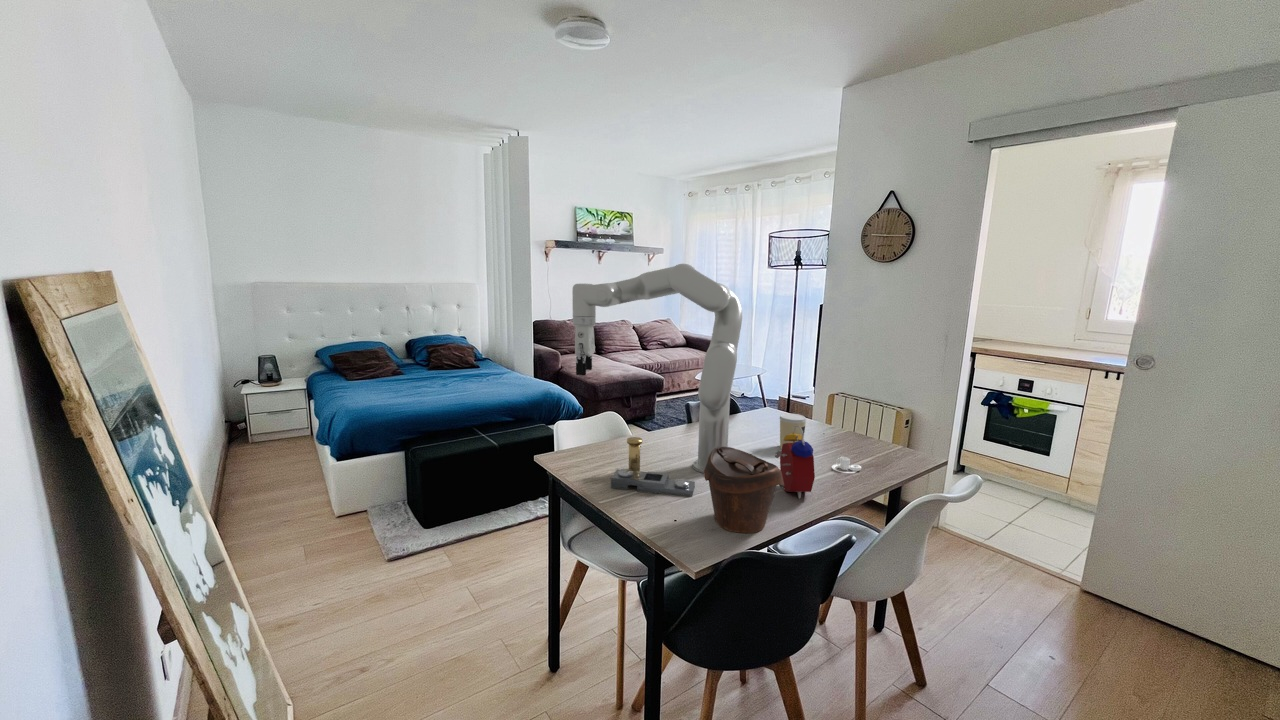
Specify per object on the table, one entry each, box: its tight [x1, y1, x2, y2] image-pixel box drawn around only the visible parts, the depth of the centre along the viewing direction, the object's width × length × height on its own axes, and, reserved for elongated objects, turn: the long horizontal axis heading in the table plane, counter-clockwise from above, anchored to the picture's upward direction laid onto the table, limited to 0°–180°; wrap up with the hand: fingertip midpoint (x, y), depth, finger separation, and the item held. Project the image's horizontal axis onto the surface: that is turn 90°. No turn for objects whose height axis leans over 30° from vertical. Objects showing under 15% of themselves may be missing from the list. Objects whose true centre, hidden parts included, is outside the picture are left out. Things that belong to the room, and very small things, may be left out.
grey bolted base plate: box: [610, 468, 696, 497], centre depth 151 cm, size 24×8×4 cm, turn 78°
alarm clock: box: [774, 426, 816, 499], centre depth 149 cm, size 15×9×20 cm, turn 179°
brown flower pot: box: [703, 446, 784, 534], centre depth 129 cm, size 18×20×18 cm
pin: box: [626, 436, 643, 471], centre depth 162 cm, size 5×5×11 cm
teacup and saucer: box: [831, 456, 862, 474], centre depth 168 cm, size 9×8×4 cm
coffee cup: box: [779, 413, 807, 449], centre depth 187 cm, size 9×9×12 cm
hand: (584, 372), depth 171 cm, fingers open, 9 cm apart
